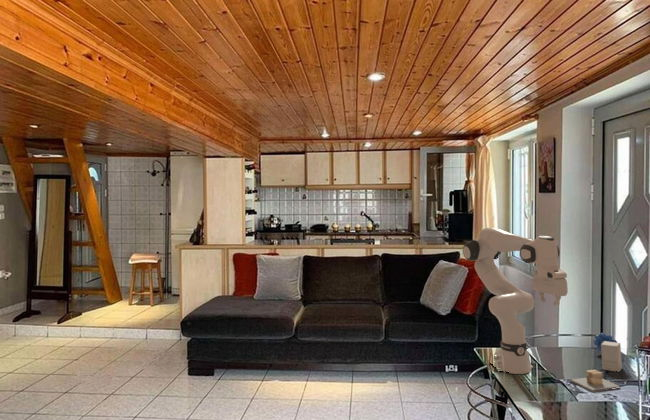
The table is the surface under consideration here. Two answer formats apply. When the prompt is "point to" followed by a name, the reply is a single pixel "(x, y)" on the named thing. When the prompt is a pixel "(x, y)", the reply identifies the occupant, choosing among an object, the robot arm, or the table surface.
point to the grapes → (602, 340)
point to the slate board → (593, 388)
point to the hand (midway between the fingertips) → (549, 303)
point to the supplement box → (611, 356)
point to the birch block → (594, 377)
